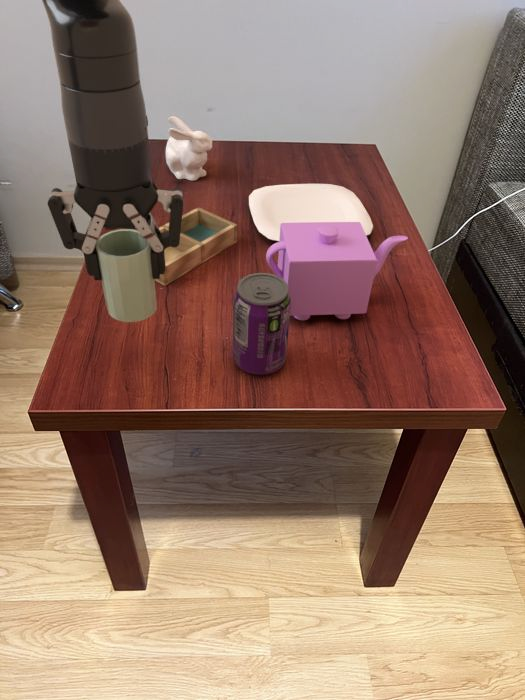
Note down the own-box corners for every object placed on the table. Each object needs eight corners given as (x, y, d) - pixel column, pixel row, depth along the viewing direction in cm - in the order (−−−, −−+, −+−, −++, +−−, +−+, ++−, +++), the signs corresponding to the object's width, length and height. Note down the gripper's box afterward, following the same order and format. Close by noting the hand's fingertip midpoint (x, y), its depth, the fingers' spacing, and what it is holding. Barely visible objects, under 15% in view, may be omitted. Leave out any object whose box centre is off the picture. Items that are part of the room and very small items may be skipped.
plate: (381, 245, 95) (383, 237, 94) (259, 252, 92) (260, 243, 91) (348, 189, 111) (349, 181, 110) (243, 193, 108) (243, 185, 107)
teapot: (267, 324, 78) (271, 250, 70) (260, 283, 86) (263, 211, 77) (401, 320, 80) (421, 247, 72) (383, 280, 88) (400, 210, 79)
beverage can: (286, 379, 70) (293, 307, 62) (231, 377, 70) (231, 304, 62) (285, 343, 76) (291, 271, 67) (234, 341, 75) (234, 269, 67)
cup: (130, 329, 63) (120, 264, 57) (96, 308, 66) (84, 243, 60) (167, 305, 67) (162, 242, 61) (134, 286, 69) (126, 223, 63)
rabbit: (218, 178, 112) (216, 119, 104) (179, 190, 108) (175, 129, 99) (185, 158, 119) (182, 101, 111) (148, 168, 114) (141, 109, 106)
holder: (164, 286, 84) (163, 268, 82) (125, 264, 88) (122, 246, 86) (237, 241, 94) (237, 224, 92) (199, 224, 98) (198, 206, 96)
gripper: (21, 146, 48) (59, 297, 60) (183, 146, 50) (191, 293, 61) (36, 115, 54) (69, 259, 65) (183, 116, 55) (189, 256, 67)
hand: (128, 275), depth 63 cm, fingers closed on cup, 6 cm apart
